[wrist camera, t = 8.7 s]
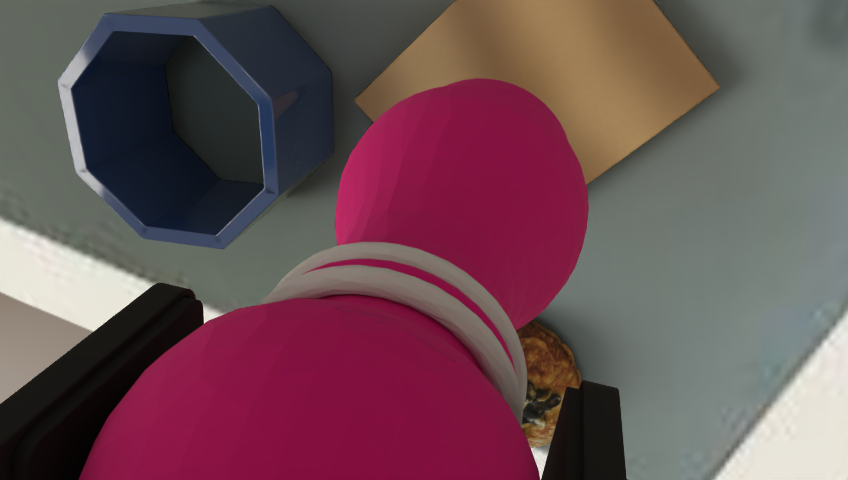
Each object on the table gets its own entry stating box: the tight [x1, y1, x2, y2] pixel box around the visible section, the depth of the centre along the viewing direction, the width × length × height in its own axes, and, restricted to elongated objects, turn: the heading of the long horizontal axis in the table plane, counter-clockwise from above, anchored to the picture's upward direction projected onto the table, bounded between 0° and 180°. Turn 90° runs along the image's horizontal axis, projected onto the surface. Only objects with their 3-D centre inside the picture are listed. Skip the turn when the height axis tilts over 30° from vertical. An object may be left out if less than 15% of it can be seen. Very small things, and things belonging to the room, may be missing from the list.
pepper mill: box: [79, 78, 589, 480], centre depth 14 cm, size 7×7×20 cm
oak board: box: [354, 0, 720, 185], centre depth 34 cm, size 15×12×1 cm
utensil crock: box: [57, 2, 334, 249], centre depth 35 cm, size 12×12×8 cm
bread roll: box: [516, 321, 581, 448], centre depth 41 cm, size 11×11×5 cm
